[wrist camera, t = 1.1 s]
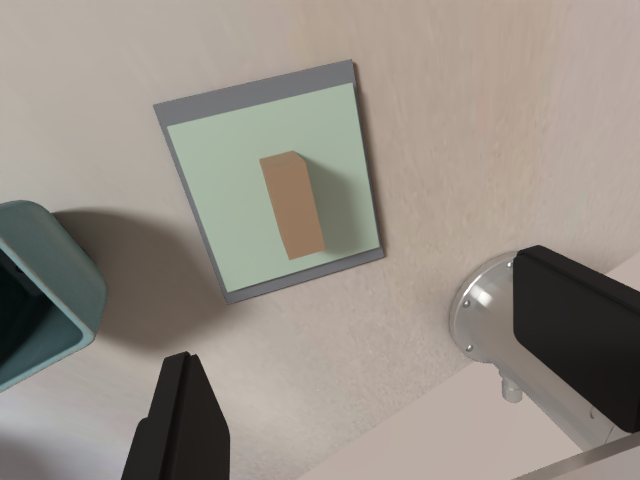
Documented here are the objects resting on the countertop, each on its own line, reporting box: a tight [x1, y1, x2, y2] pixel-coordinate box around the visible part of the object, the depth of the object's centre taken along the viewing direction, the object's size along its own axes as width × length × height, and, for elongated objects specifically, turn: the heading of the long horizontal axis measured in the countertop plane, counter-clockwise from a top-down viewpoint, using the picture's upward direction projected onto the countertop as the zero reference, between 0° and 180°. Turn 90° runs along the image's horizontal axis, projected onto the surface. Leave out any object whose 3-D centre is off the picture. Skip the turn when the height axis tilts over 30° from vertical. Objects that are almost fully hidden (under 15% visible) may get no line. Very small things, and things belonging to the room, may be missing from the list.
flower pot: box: [0, 200, 107, 393], centre depth 23 cm, size 9×9×9 cm
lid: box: [167, 83, 379, 292], centre depth 26 cm, size 13×13×6 cm
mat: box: [153, 59, 384, 305], centre depth 29 cm, size 16×14×1 cm
